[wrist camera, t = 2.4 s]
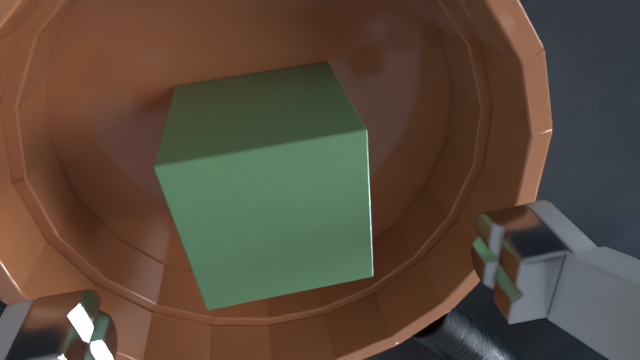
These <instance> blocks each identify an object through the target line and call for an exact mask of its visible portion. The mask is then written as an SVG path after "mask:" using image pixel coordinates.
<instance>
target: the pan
mask: <svg viewBox="0 0 640 360" xmlns="http://www.w3.org/2000/svg"><path fill="white" fill-rule="evenodd" d="M321 62H328V63H329V64H330V66H331V68H332V70H333V71H334V73H335V75H336V77H337V78H338V80H339V82H340V84H341V85H342V87H343V89H344V91H345V92H346V94H347V96H348V97H349V99H350V101H351V103H352V104H353V106H354V108H355V110H356V111H357V113H358V115H359V117H360V118H361V120H362V122H363V124H364V125H365V127H366V129H367V131H368V155H369V178H370V201H371V225H372V248H373V272H374V275H373V276H372V277H368V278H363V279H358V280H353V281H349V282H344V283H339V284H334V285H329V286H324V287H319V288H314V289H309V290H304V291H299V292H295V293H290V294H285V295H280V296H275V297H270V298H265V299H260V300H255V301H250V302H245V303H240V304H236V305H231V306H226V307H221V308H216V309H211V310H207V309H206V306H205V304H204V301H203V298H202V296H201V293H200V290H199V288H198V285H197V282H196V280H195V277H194V275H193V272H192V269H191V267H190V264H189V261H188V259H187V256H186V253H185V251H184V248H183V245H182V243H181V240H180V238H179V235H178V232H177V230H176V227H175V224H174V222H173V219H172V216H171V214H170V211H169V208H168V206H167V203H166V201H165V198H164V195H163V193H162V190H161V187H160V185H159V182H158V179H157V177H156V174H155V171H154V169H153V165H154V162H155V158H156V154H157V151H158V147H159V143H160V140H161V136H162V132H163V129H164V125H165V121H166V118H167V114H168V110H169V107H170V103H171V99H172V96H173V92H174V88H175V86H176V85H182V84H189V83H195V82H201V81H208V80H214V79H220V78H227V77H233V76H239V75H245V74H252V73H258V72H264V71H271V70H277V69H283V68H290V67H296V66H302V65H309V64H315V63H321ZM552 128H553V125H552V115H551V105H550V95H549V85H548V75H547V65H546V55H545V50H544V46H543V44H542V42H541V40H540V38H539V36H538V34H537V32H536V31H535V29H534V27H533V25H532V23H531V21H530V19H529V17H528V15H527V13H526V11H525V10H524V8H523V6H522V4H521V2H520V0H0V300H1V301H2V302H3V303H5V304H6V305H8V306H9V305H10V304H12V303H13V302H18V301H24V300H30V299H36V298H39V297H44V296H50V295H56V294H62V293H68V292H73V291H79V290H85V289H93V290H95V291H96V292H97V294H98V295H99V297H100V298H101V300H102V303H101V306H100V309H99V310H101V311H103V312H105V313H107V314H109V315H111V317H112V319H113V321H114V323H115V326H116V330H117V334H118V348H117V353H116V357H115V360H363V359H365V358H368V357H370V356H373V355H375V354H378V353H380V352H382V351H385V350H387V349H390V348H392V347H395V346H397V345H398V344H401V343H402V342H404V341H405V340H407V339H408V338H410V337H411V336H413V335H414V334H416V333H417V332H419V331H420V330H422V329H424V328H425V327H427V326H428V325H430V324H431V323H433V322H434V321H436V320H437V319H439V318H440V317H442V316H443V315H445V314H446V313H448V312H449V311H451V310H452V309H453V308H454V307H455V306H456V305H457V304H458V303H459V302H460V301H461V300H462V299H463V298H464V297H465V296H466V295H467V294H468V293H469V292H470V291H471V290H472V289H473V288H474V287H475V286H476V285H477V284H478V283H479V282H480V279H479V278H478V276H477V274H476V272H475V269H474V267H473V262H472V257H471V248H472V242H473V241H474V240H475V239H476V238H477V236H478V235H479V234H478V233H477V232H476V230H475V229H474V223H475V218H476V216H477V214H478V213H482V212H487V211H492V210H497V209H502V208H507V207H512V206H517V205H522V204H525V203H530V202H534V201H535V200H536V196H537V192H538V188H539V184H540V180H541V176H542V172H543V168H544V164H545V160H546V156H547V151H548V147H549V143H550V139H551V135H552Z"/></svg>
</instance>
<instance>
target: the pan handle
mask: <svg viewBox="0 0 640 360" xmlns="http://www.w3.org/2000/svg"><path fill="white" fill-rule="evenodd" d="M411 337H412V338H413V339H415V340H416V341H417V342H419V343H420V344H422V345H423V346H424V347H426V348H427V349H429V350H430V351H431V352H433V353H434V354H436V355H437V356H438V357H440V358H441V359H443V360H522V359H520V358H519V357H518V356H517V355H516V354H515V353H514V352H512V351H511V350H510V349H509V348H508V347H507V346H506V345H504V344H503V343H502V342H501V341H500V340H499V339H498V338H497V337H495V336H494V335H493V334H492V333H491V332H490V331H489V330H487V329H486V328H485V327H484V326H483V325H482V324H481V323H479V322H478V321H477V320H476V319H475V318H474V317H473V316H471V315H470V314H469V313H468V312H467V311H466V310H465V309H464V308H462V307H461V306H460V305H459V304H457V305H456V306H455V307H454V308H453V309H452V310H451V311H449V312H448V313H446V314H445V315H443V316H442V317H440V318H439V319H437V320H436V321H434V322H433V323H431V324H430V325H428V326H427V327H425V328H424V329H422V330H420V331H419V332H417V333H416V334H414V335H413V336H411Z"/></svg>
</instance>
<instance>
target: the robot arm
mask: <svg viewBox="0 0 640 360" xmlns="http://www.w3.org/2000/svg"><path fill="white" fill-rule="evenodd" d="M474 229H475V230H476V232H477V233H478V234H479V235H478V236H477V238H476V239H475V240H474V241H473V242H472V248H471V257H472V262H473V267H474V269H475V272H476V274H477V276H478V278H479V279H480V281H481V282H482V284H483V285H485V286H487V287H489V288H491V289H493V290H494V294H493V301H494V303H495V304H496V306H497V307H498V309H499V310H500V312H501V313H502V315H503V316H504V318H505V320H506V321H507V323H508V324H514V323H519V322H525V321H530V320H535V319H541V318H546V317H548V320H549V321H551V322H553V323H554V324H556V325H557V326H559V327H560V328H562V329H563V330H565V331H566V332H568V333H569V334H571V335H572V336H574V337H575V338H577V339H578V340H580V341H581V342H583V343H584V344H586V345H587V346H589V347H591V348H592V349H594V350H595V351H597V352H598V353H600V354H601V355H603V356H604V357H606V358H607V359H609V360H640V259H637V258H634V257H632V256H629V255H627V254H624V253H622V252H619V251H616V250H614V249H611V248H609V247H606V246H604V247H597V246H596V245H595V244H594V243H593V242H592V241H591V240H590V239H589V238H588V237H587V236H586V235H585V234H584V233H583V232H582V231H581V230H580V229H578V228H577V227H576V226H575V225H574V224H573V223H572V222H571V221H570V220H569V219H568V218H567V217H566V216H565V215H564V214H563V213H562V212H561V211H560V210H559V209H557V208H556V207H555V206H554V205H553V204H552V203H551V202H550V201H547V200H540V201H535V202H530V203H525V204H522V205H517V206H512V207H507V208H502V209H497V210H492V211H487V212H482V213H478V214H477V216H476V218H475V223H474ZM101 303H102V300H101V298H100V297H99V295H98V294H97V292H96V291H95V290H93V289H85V290H79V291H73V292H68V293H62V294H56V295H50V296H44V297H39V298H36V299H30V300H24V301H18V302H13V303H12V304H10V305H9V306H7V307H6V308H5V310H4V312H3V313H2V315H1V317H0V360H115V357H116V353H117V348H118V334H117V330H116V326H115V323H114V321H113V319H112V317H111V315H109V314H107V313H105V312H103V311H101V310H99V309H100V306H101Z"/></svg>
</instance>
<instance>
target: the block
mask: <svg viewBox="0 0 640 360" xmlns="http://www.w3.org/2000/svg"><path fill="white" fill-rule="evenodd" d="M153 169H154V171H155V174H156V177H157V179H158V182H159V185H160V187H161V190H162V193H163V195H164V198H165V201H166V203H167V206H168V208H169V211H170V214H171V216H172V219H173V222H174V224H175V227H176V230H177V232H178V235H179V238H180V240H181V243H182V245H183V248H184V251H185V253H186V256H187V259H188V261H189V264H190V267H191V269H192V272H193V275H194V277H195V280H196V282H197V285H198V288H199V290H200V293H201V296H202V298H203V301H204V304H205V306H206V309H207V310H211V309H216V308H221V307H226V306H231V305H236V304H240V303H245V302H250V301H255V300H260V299H265V298H270V297H275V296H280V295H285V294H290V293H295V292H299V291H304V290H309V289H314V288H319V287H324V286H329V285H334V284H339V283H344V282H349V281H353V280H358V279H363V278H368V277H372V276H373V275H374V272H373V248H372V225H371V201H370V178H369V155H368V131H367V129H366V127H365V125H364V124H363V122H362V120H361V118H360V117H359V115H358V113H357V111H356V110H355V108H354V106H353V104H352V103H351V101H350V99H349V97H348V96H347V94H346V92H345V91H344V89H343V87H342V85H341V84H340V82H339V80H338V78H337V77H336V75H335V73H334V71H333V70H332V68H331V66H330V64H329V63H328V62H321V63H315V64H309V65H302V66H296V67H290V68H283V69H277V70H271V71H264V72H258V73H252V74H245V75H239V76H233V77H227V78H220V79H214V80H208V81H201V82H195V83H189V84H182V85H176V86H175V88H174V92H173V96H172V99H171V103H170V107H169V110H168V114H167V118H166V121H165V125H164V129H163V132H162V136H161V140H160V143H159V147H158V151H157V154H156V158H155V162H154V165H153Z"/></svg>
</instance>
